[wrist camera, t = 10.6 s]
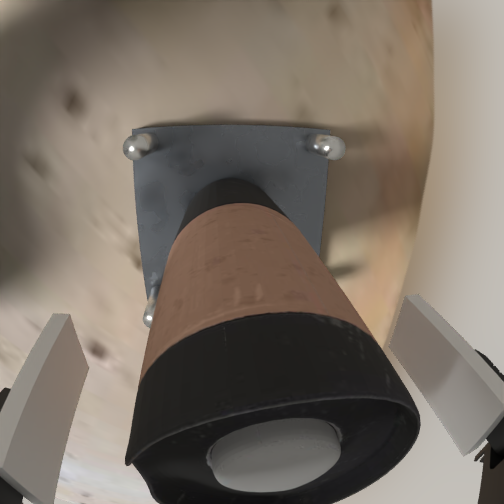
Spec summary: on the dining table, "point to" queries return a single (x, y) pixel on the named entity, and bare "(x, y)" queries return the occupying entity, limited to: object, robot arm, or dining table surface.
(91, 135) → the dining table surface
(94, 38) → the dining table surface
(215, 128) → the stand
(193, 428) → the travel mug
